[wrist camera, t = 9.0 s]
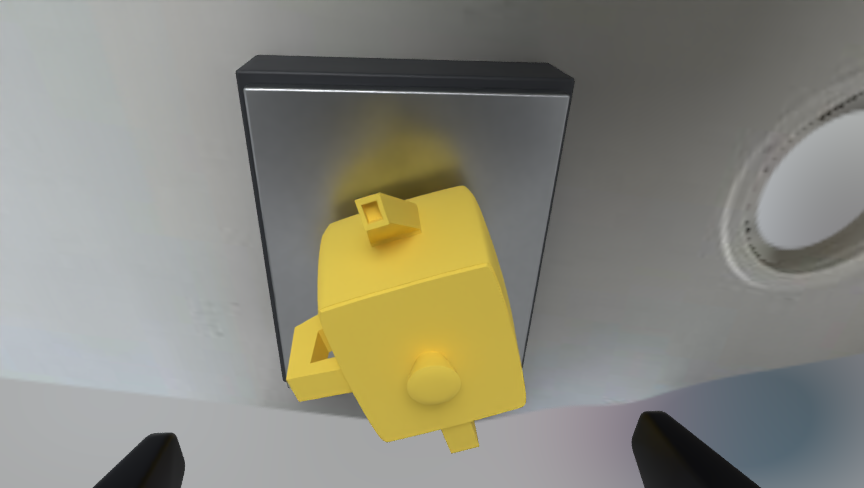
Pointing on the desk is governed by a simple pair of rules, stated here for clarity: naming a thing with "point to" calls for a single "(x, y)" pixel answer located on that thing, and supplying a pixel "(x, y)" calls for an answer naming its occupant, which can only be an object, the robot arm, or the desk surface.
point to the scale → (399, 158)
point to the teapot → (412, 319)
